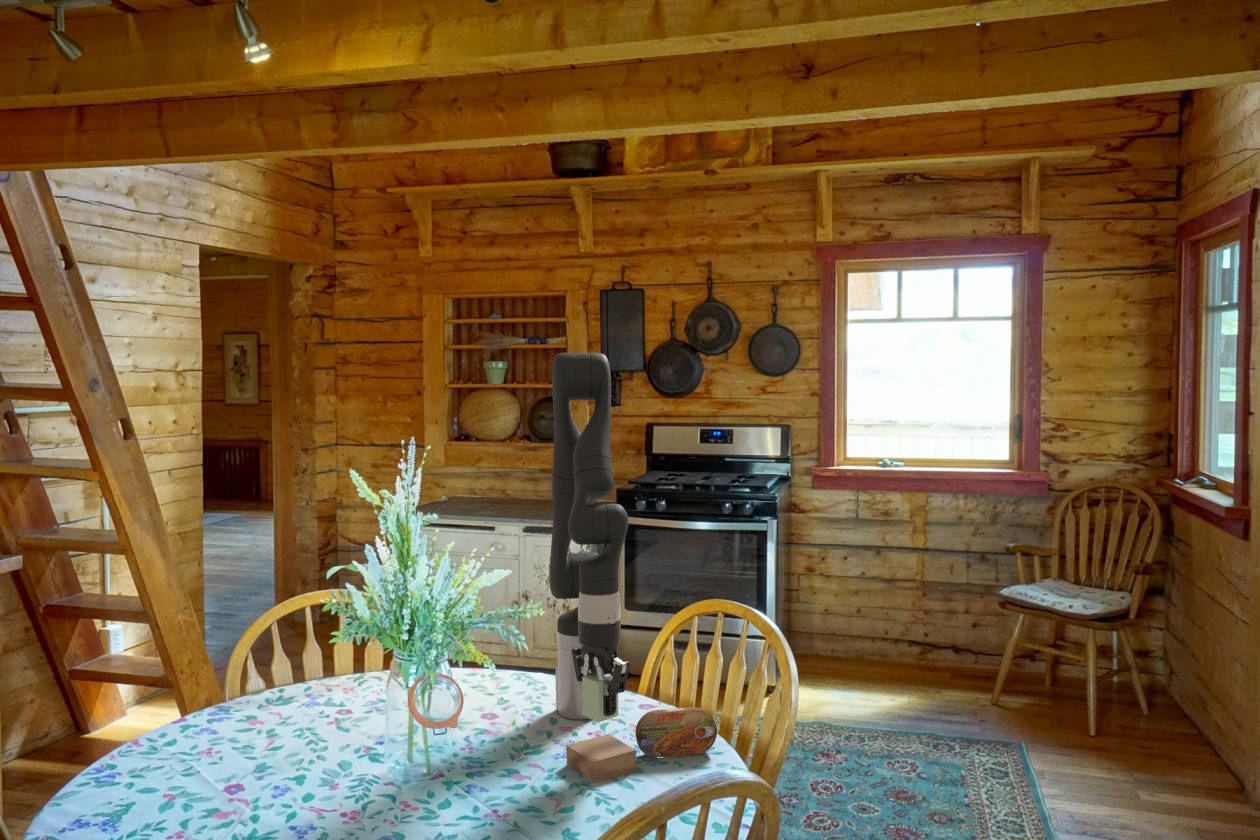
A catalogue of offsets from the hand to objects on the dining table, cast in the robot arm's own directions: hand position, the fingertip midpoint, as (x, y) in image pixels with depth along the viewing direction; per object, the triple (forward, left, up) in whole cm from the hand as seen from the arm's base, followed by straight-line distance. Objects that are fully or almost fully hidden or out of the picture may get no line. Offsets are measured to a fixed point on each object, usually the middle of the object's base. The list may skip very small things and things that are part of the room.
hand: (600, 710), depth 169 cm
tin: (+4, +14, -11) cm, 18 cm away
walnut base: (0, 0, -11) cm, 11 cm away
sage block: (0, 0, -1) cm, 1 cm away
